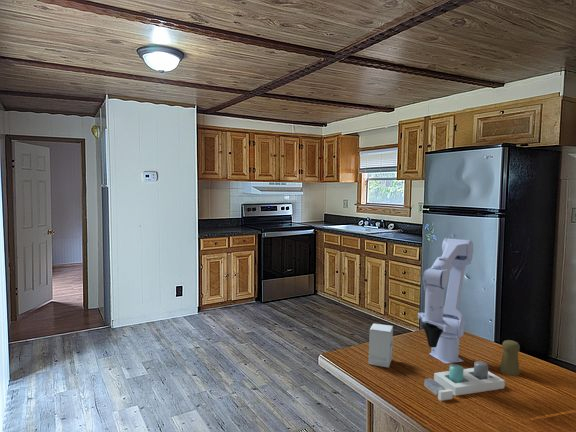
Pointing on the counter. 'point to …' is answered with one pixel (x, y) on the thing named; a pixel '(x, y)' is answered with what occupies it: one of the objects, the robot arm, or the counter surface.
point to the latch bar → (433, 385)
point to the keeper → (445, 394)
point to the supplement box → (380, 345)
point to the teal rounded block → (456, 373)
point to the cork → (510, 358)
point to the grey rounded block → (480, 370)
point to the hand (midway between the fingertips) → (432, 346)
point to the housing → (469, 382)
